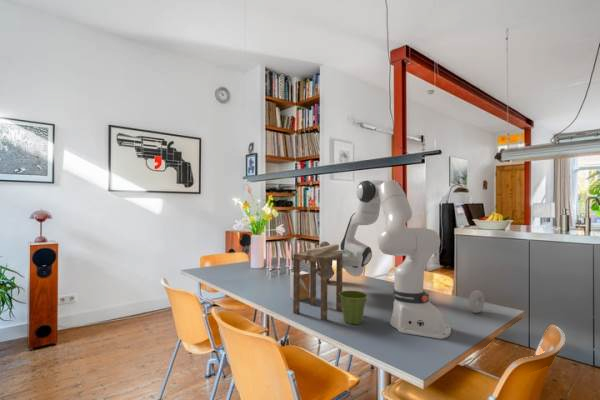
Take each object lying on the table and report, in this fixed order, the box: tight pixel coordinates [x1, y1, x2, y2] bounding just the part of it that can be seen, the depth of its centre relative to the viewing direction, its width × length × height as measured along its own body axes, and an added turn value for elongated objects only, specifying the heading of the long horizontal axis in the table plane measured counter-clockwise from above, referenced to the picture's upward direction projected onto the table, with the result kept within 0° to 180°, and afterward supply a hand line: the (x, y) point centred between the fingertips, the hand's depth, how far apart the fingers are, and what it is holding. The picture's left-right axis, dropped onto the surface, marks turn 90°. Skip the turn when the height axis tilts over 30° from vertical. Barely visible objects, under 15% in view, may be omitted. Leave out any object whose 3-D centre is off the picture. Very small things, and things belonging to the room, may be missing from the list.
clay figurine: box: [316, 241, 335, 283], centre depth 198 cm, size 13×10×25 cm
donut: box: [467, 290, 485, 314], centre depth 145 cm, size 10×4×10 cm, turn 124°
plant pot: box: [339, 290, 369, 325], centre depth 133 cm, size 12×12×11 cm
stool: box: [292, 250, 343, 322], centre depth 144 cm, size 16×16×26 cm
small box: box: [289, 270, 310, 301], centre depth 164 cm, size 8×6×13 cm
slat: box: [306, 243, 340, 256], centre depth 149 cm, size 3×24×2 cm, turn 146°
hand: (335, 249), depth 158 cm, fingers open, 8 cm apart
